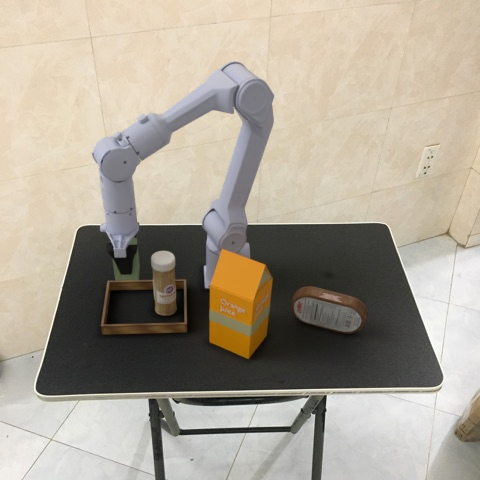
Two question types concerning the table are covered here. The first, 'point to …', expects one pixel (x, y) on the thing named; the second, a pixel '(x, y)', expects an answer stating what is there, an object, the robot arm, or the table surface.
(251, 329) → the orange juice
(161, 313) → the sprinkles bottle
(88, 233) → the table surface
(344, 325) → the tin
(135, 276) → the block
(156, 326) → the wooden frame
